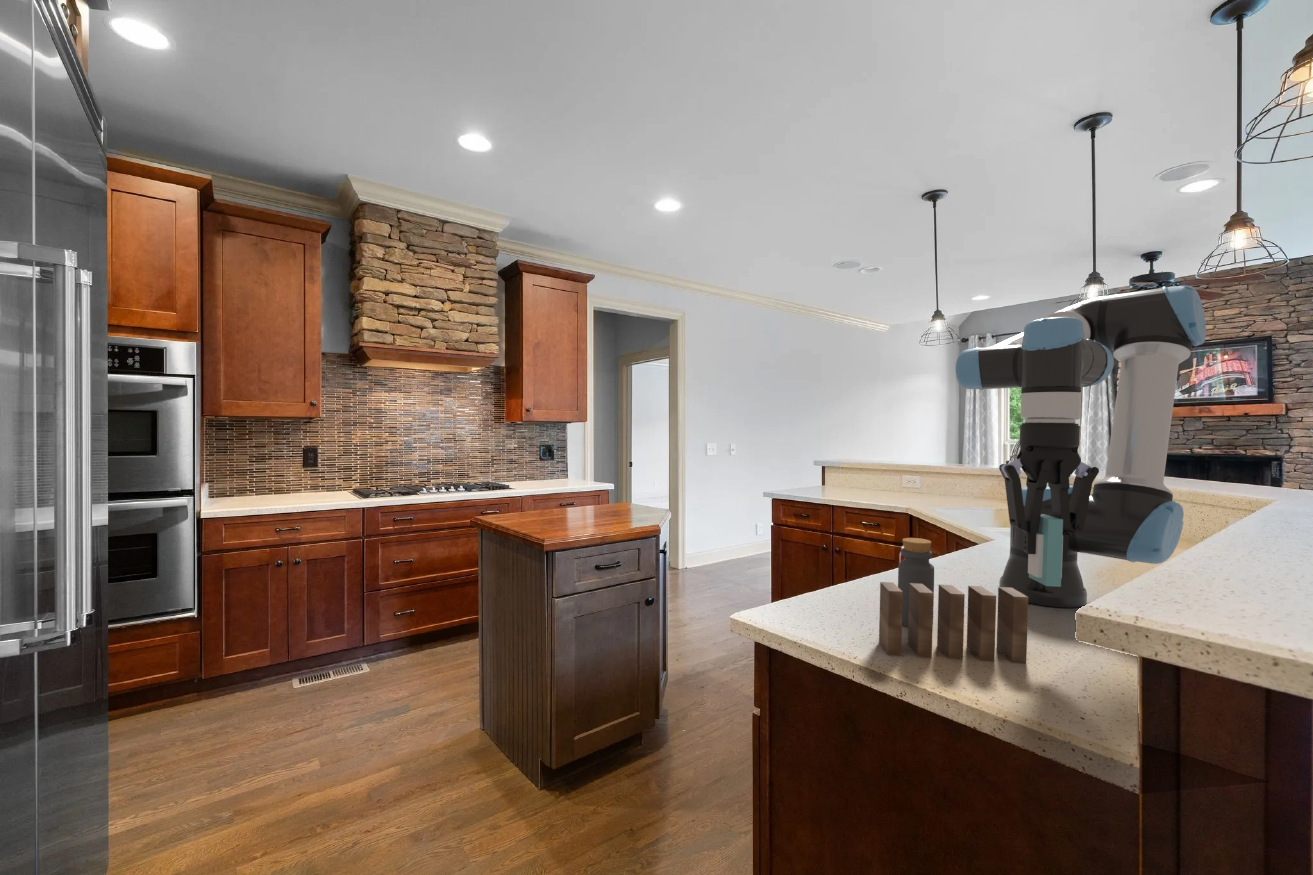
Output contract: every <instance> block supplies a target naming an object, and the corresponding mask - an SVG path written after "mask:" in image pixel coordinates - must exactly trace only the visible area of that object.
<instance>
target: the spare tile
mask: <svg viewBox="0 0 1313 875" xmlns="http://www.w3.org/2000/svg"><path fill="white" fill-rule="evenodd" d="M1037 533H1040V534H1043V535H1044V539H1043V570H1042V578H1037V577H1035V576H1033V575H1031V574H1029V578H1031V579H1033V580H1035V581H1037V582H1039V583H1041V584H1043V585H1045V586H1055V587H1061V567H1062V537H1063V519H1059V518H1056V517H1052V516H1049V515H1045V514H1041V516H1040V523H1039V530H1038V532H1037Z"/></svg>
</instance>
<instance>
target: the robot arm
mask: <svg viewBox="0 0 1313 875" xmlns="http://www.w3.org/2000/svg"><path fill="white" fill-rule="evenodd" d="M1206 337H1207V328H1206V316H1205V311H1204V308H1203V303H1202V300H1201V297H1200V295H1199V292H1198V290H1196V289H1195V288H1194V287H1193V286H1190V285H1177V286H1162V287H1159V288H1153V289H1152V288H1151V289H1146V290H1140V291H1139V290H1138V291H1132V292H1126V293H1125V292H1123V293H1119V294H1117V293H1116V294H1111V295H1101V296H1096V297H1091V298H1089V299H1085V300H1082V301H1079V302H1077V303H1075V304H1072V305H1069V306H1067V307H1065V308H1062V309H1060V310H1057V311H1055V312H1053V313H1050V314H1049V315H1047V316H1046V317H1044V318H1040V319H1039V318H1038V319H1035V320H1032V321H1029V322H1027V323H1026V325H1024V328H1023V331H1022V332H1020V333H1018V334H1016V335H1014V336H1011V337H1009V338H1007V339H1005V340H1003V341H1001V342H997V343H996V344H993V345H991V346H986V347H979V346H977V347H975V348H970V349H964V350H963V351H961V352H960V353H959V354H958V356H957V358H956V361H955V376H956V380H957V383H958V384H959V386H960V387H962V388H963V389H965V390H980V391H984V390H994V389H998V390H999V389H1018V388H1021V392H1020V393H1021V395H1020V418H1021V419H1022V420H1024V422H1022V423H1021V424H1020V426H1019V451H1018V454H1017V455H1016V459H1015V460H1013V461H1011V462H1009V463H1007V464H1005V463H1002V464H1000V465H999V466H998V469H999V471H1000V473H1001V475H1002V476H1003V479H1004V484H1005V485H1004V486H1005V495H1006V504H1007V511H1008V519H1009V520H1008V521H1009V524H1010V527H1009V529H1010V532H1009V534H1010V536H1009V540H1010V541H1009V557H1008V560H1007V562H1006V565H1005V567H1004V569H1003V570H1004V571H1003V573H1002V575H1001V577H1000V579H999V585H998V587H1010V588H1013V589H1015V590H1017V591H1019V592H1020V593H1022V594H1024V595H1025V596H1027V597H1028V604H1033V605H1038V606H1044V607H1045V606H1047V607H1052V608H1053V607H1054V608H1080V607H1084V606H1086V605H1087V604H1088V592H1087V589H1086V588H1085V586H1084V582H1083V577H1082V574H1081V572H1080V571H1081V570H1080V568H1079V565H1078V553H1081V554H1086V555H1094V556H1100V557H1106V558H1113V559H1118V560H1124V561H1128V562H1129V563H1130V562H1131V563H1143V564H1150V565H1151V564H1152V565H1157V564H1158V565H1159V564H1162V563H1164V562H1165V561H1167V560H1168V559H1170V557H1171V556H1172V555H1173V553H1174V551H1175V550H1176V548H1177V546H1178V544H1179V542H1180V538H1181V535H1182V531H1183V527H1184V520H1183V519H1184V516H1185V515H1184V513H1185V512H1184V508H1183V506H1182V505H1181V504H1180V503H1178V502H1177V501H1175V500H1173V499H1174V495H1173V494H1174V493H1173V492H1172V491H1171V490H1170V489H1169V488H1168V487H1167V486H1166V485H1165V483H1164V479H1165V472H1166V465H1167V457H1168V456H1167V455H1168V449H1169V443H1170V434H1171V426H1172V420H1173V410H1174V402H1175V396H1176V388H1177V381H1178V380H1177V379H1178V371H1179V364H1181V363H1183V362H1184V361H1186V360H1188V359H1189V358H1190V356H1191V354H1192V348H1193V347H1197V346H1200V345H1203V344H1204V343H1205V341H1206ZM1114 359H1115V360H1117V361H1118V362H1119V363H1120V364H1121V365H1120V368H1119V370H1120V371H1119V378H1118V385H1117V392H1116V398H1115V404H1114V413H1113V419H1112V426H1111V433H1110V440H1109V448H1108V454H1107V462H1106V468H1105V476H1104V477H1103V478H1101V479H1099V480H1098V481H1096V482H1094V481H1095V480H1096V478H1097V476H1098V475H1099V473H1100V469H1099V468H1098V467H1096V466H1090V465H1088V464H1087V463H1085V462H1083V461H1082V458H1081V456H1080V454H1079V450H1078V449H1079V447H1080V440H1081V438H1080V437H1081V425H1079V423H1076V420H1080V419H1081V416H1082V388H1087V387H1093V386H1096V385H1098V384H1100V383H1102V382H1103V381H1105V380H1106V379H1107V378H1108V377H1109V376H1110V375H1111V373H1112V371H1113V369H1114V363H1115V361H1114ZM1021 469H1022V471H1023V472H1024V474H1025V475H1026V483H1025V485H1026V486H1024V487H1022V482H1021V481H1022V480H1021V477H1020V475H1021V474H1022V472H1021ZM1073 473H1074V475H1075V478H1074V479H1073V480H1074V481H1073V484H1072V485H1071V484H1070V477H1071V476H1072V475H1073ZM1093 483H1094V484H1093ZM1092 487H1093V490H1092ZM1091 492H1092V494H1091ZM1041 514H1045V515H1049V516H1052V517H1056V518H1059V519H1063V537H1062V567H1061V587H1055V586H1045V585H1043V584H1041V583H1039V582H1037V581H1035V580H1033V579H1031V578H1029V574H1031V575H1033V576H1035V577H1037V578H1042V570H1043V539H1044V535H1043V534H1040V533H1037V532H1038V530H1039V523H1040V516H1041ZM1085 604H1086V605H1085ZM1083 605H1084V606H1083Z"/></svg>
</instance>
